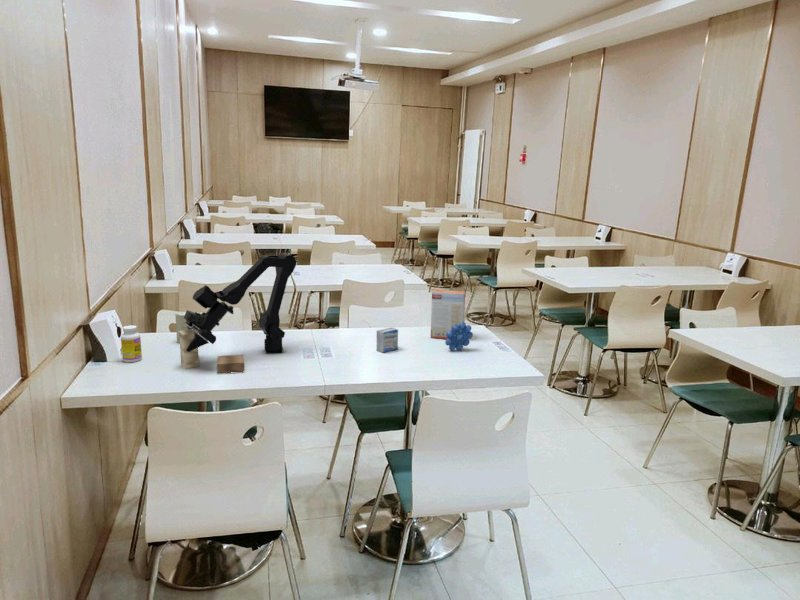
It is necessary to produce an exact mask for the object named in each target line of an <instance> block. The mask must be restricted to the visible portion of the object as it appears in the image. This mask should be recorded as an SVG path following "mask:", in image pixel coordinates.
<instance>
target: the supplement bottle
mask: <svg viewBox="0 0 800 600" xmlns="http://www.w3.org/2000/svg"><path fill="white" fill-rule="evenodd" d="M137 327H138V326H137V325H134V324H133V325H125V326H123V327H122V331H123V333H122V334H121V335H120V345H121V357H122V361H123V362H125V363H137V362H140V361H141V360H142V359H143V355H142V342H141V339H142V338H141V333H139V332H138V331H137V330H138V328H137ZM136 361H137V362H136Z"/></svg>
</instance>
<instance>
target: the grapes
mask: <svg viewBox="0 0 800 600" xmlns="http://www.w3.org/2000/svg"><path fill="white" fill-rule="evenodd" d="M451 329H452V331H448V332H447V334H446V336H447V338H448V339H445V342H444V344H445V345H446V346H448V348H449V350H450V351H455V350H456V351H462V350H463V348H464V347H467V346H469V344H470V340H471V339H472V338H473V336H474V333H473V331H472V326H471V325H470V324H466V322H465V321H464V322H461V323H460V324H459V326H458V325H456V324H455V325H453V326H452V328H451Z"/></svg>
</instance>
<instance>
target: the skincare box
mask: <svg viewBox="0 0 800 600" xmlns="http://www.w3.org/2000/svg"><path fill="white" fill-rule="evenodd" d="M185 314H186V311H185V312H184V311H183V312H179V313H175V315H174V317H175V329H176V331H175V332H176V342H177V343H178V344H180V338H179V331H183V330H188V328H187V326H188V327H189V325H187V324H186V319H184V316H185Z"/></svg>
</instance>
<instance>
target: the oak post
mask: <svg viewBox="0 0 800 600" xmlns="http://www.w3.org/2000/svg"><path fill="white" fill-rule="evenodd" d="M194 332H196V331H195V330H193V329H190V330H183V331H179V338H180V343H179V349H180V354H179V355H180V365H181V366H182V368H184V370H187V369H192V367H194V368H198V366H199V367H200V361H199V360H200V359H199V347H198V348H196V349H194V350H192V351H190V352H188V351H186V350H187V348H188V346H189V345H190V343H191V342H192V340H193V339H194ZM196 333H197V332H196Z"/></svg>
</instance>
